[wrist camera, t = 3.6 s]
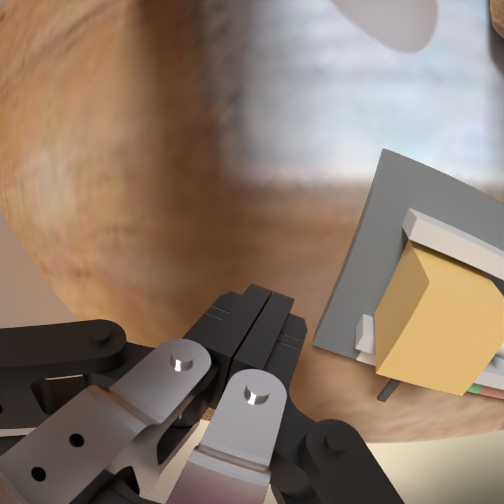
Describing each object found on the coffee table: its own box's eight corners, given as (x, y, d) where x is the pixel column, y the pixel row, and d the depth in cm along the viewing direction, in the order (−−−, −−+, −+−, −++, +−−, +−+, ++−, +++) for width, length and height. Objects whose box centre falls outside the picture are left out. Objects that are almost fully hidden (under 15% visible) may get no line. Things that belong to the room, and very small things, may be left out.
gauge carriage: (346, 363, 17) (338, 423, 13) (408, 238, 13) (429, 282, 9) (456, 394, 15) (466, 447, 11) (526, 291, 12) (561, 337, 7)
